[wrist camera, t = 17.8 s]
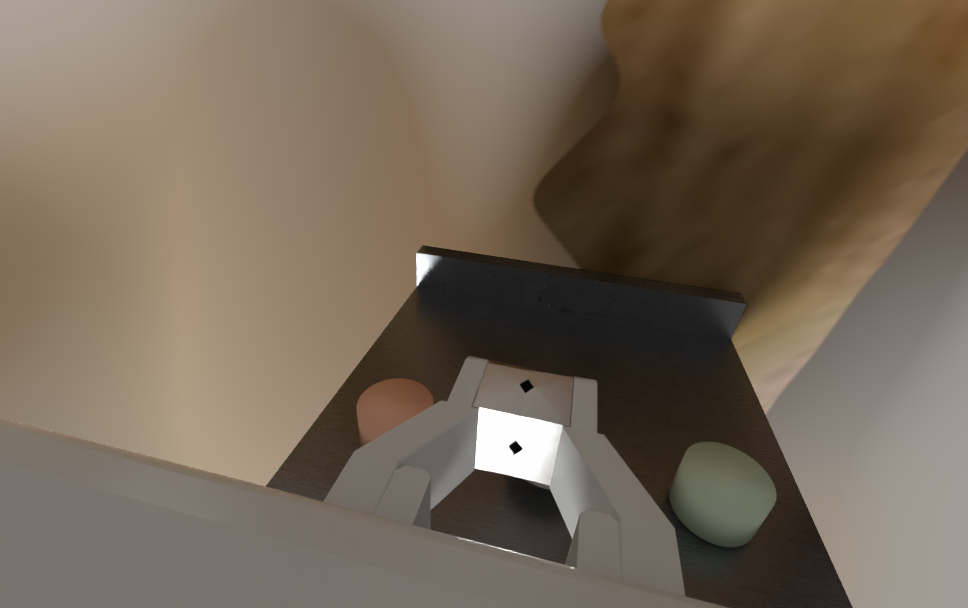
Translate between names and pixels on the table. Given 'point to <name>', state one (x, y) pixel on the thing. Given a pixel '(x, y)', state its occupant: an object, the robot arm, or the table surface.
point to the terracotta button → (390, 406)
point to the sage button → (721, 494)
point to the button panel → (620, 411)
